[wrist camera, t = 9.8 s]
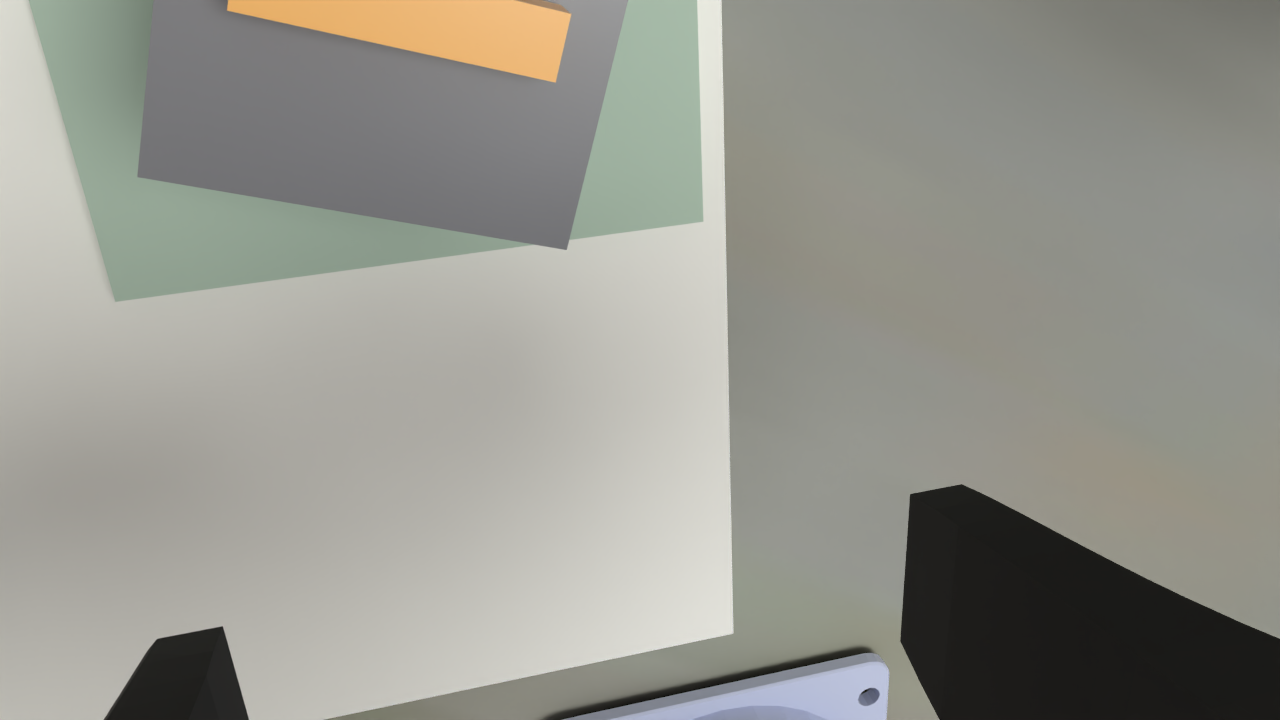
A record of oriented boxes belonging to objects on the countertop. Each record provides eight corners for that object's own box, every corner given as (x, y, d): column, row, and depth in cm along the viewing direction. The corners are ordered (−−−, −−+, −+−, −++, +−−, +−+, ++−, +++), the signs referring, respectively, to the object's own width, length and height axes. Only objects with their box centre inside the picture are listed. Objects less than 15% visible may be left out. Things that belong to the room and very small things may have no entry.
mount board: (711, 588, 24) (817, 805, 19) (-355, 803, 20) (-592, 1150, 15) (678, -516, 16) (857, -679, 10) (-1184, -506, 12) (-2415, -760, 6)
